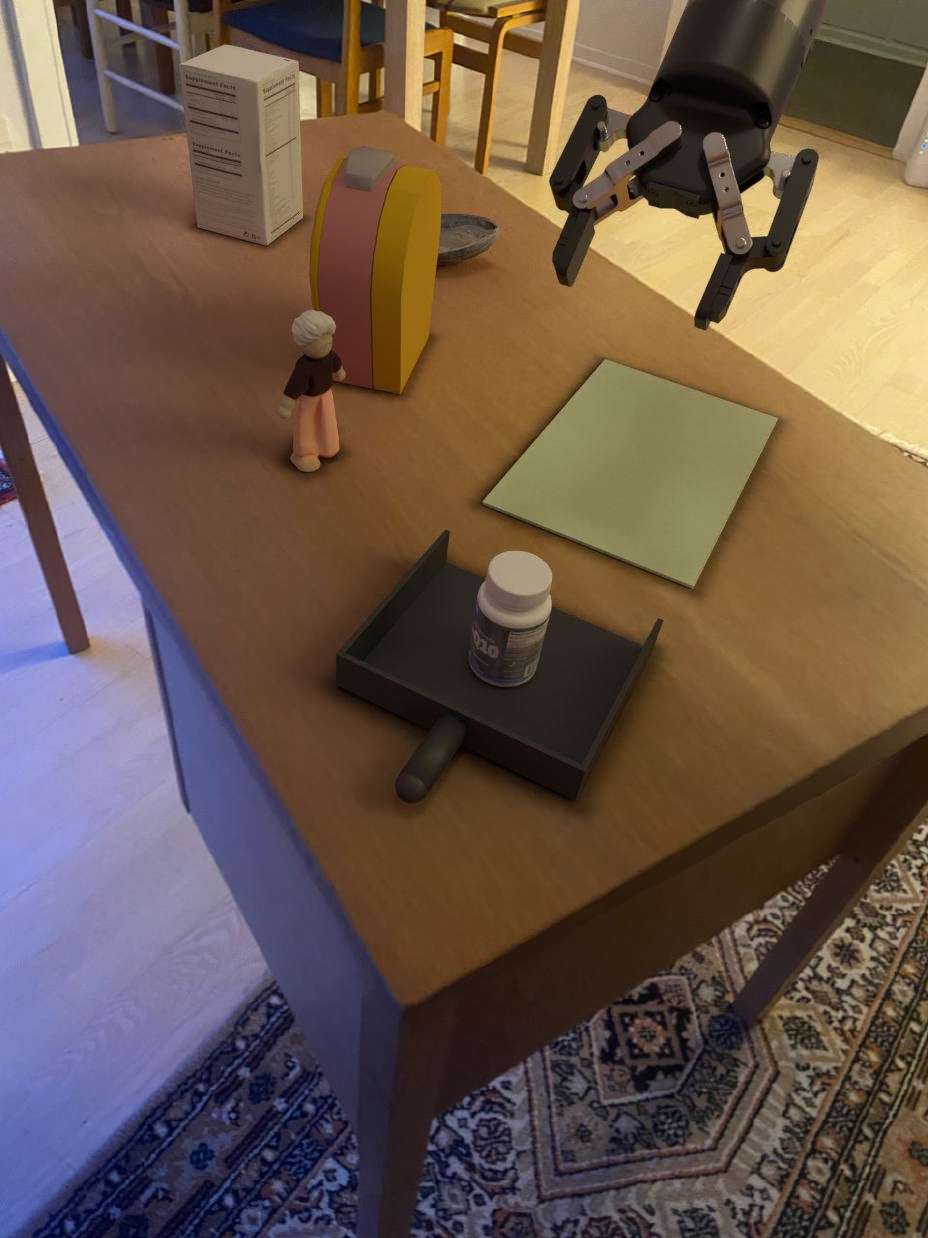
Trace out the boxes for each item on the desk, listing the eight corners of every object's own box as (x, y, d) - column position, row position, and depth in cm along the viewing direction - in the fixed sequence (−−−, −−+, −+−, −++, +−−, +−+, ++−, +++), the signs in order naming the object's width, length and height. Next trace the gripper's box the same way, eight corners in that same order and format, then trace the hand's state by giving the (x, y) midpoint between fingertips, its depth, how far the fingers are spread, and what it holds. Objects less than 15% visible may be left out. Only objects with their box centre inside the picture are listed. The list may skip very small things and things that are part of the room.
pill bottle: (456, 645, 61) (469, 553, 55) (518, 630, 63) (537, 539, 57) (484, 697, 58) (501, 605, 52) (549, 679, 60) (572, 588, 54)
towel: (604, 361, 91) (605, 358, 91) (777, 420, 86) (778, 417, 86) (481, 504, 73) (482, 501, 72) (692, 589, 68) (693, 586, 68)
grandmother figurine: (317, 484, 72) (314, 340, 63) (274, 471, 73) (266, 326, 64) (357, 436, 78) (360, 296, 69) (317, 424, 78) (315, 284, 69)
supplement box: (236, 200, 110) (224, 41, 98) (305, 218, 108) (301, 58, 96) (194, 228, 103) (175, 61, 91) (266, 247, 101) (257, 79, 89)
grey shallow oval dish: (455, 229, 110) (459, 186, 107) (503, 274, 103) (509, 230, 99) (338, 241, 104) (338, 197, 101) (380, 289, 97) (381, 243, 93)
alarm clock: (355, 313, 93) (357, 119, 80) (432, 328, 92) (448, 135, 79) (308, 386, 82) (302, 176, 69) (395, 404, 82) (406, 195, 69)
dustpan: (441, 562, 67) (445, 529, 65) (651, 652, 63) (664, 619, 61) (280, 753, 54) (278, 719, 52) (533, 883, 50) (543, 853, 47)
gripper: (621, -37, 50) (506, 237, 50) (880, 17, 46) (752, 312, 47) (632, 55, 57) (531, 293, 58) (856, 108, 53) (746, 362, 54)
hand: (630, 301), depth 52 cm, fingers open, 8 cm apart
